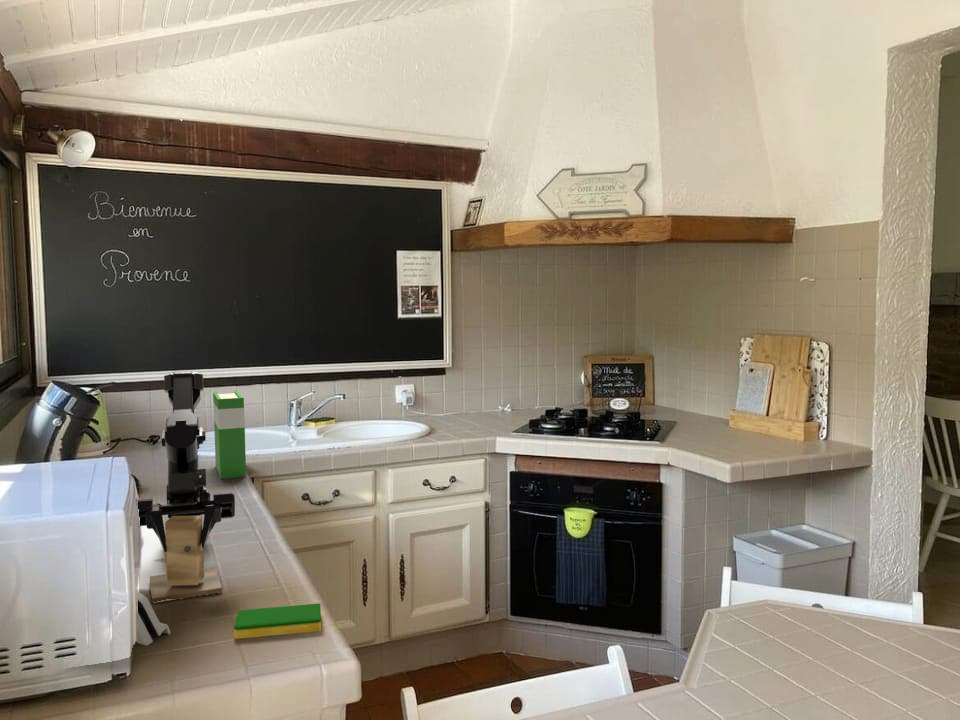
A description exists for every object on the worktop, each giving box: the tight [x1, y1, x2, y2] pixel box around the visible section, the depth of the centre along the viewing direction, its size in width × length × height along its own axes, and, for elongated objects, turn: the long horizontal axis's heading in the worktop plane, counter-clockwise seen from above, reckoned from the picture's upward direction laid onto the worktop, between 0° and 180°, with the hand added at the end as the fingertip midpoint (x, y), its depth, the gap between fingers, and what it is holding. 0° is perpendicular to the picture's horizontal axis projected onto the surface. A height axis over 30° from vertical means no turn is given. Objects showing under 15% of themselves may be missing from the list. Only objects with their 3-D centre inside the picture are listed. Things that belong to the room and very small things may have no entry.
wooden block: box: [164, 515, 205, 585], centre depth 147 cm, size 4×6×12 cm
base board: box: [149, 567, 223, 603], centre depth 150 cm, size 12×12×1 cm
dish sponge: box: [233, 603, 322, 640], centre depth 133 cm, size 7×14×2 cm, turn 102°
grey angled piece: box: [137, 591, 172, 646], centre depth 130 cm, size 17×5×10 cm, turn 62°
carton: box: [212, 390, 247, 480], centre depth 243 cm, size 18×7×24 cm, turn 23°
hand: (184, 549), depth 146 cm, fingers closed on wooden block, 6 cm apart
